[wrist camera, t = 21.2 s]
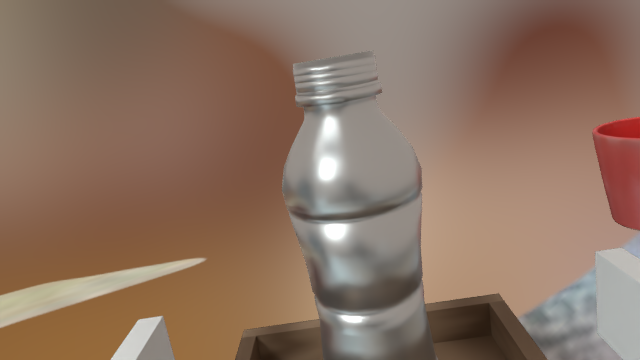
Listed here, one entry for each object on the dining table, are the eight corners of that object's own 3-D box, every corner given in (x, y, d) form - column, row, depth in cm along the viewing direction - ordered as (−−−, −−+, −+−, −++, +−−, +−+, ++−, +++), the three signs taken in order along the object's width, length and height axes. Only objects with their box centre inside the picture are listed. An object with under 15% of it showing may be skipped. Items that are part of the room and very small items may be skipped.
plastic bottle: (451, 397, 28) (411, 43, 23) (458, 503, 21) (405, 45, 17) (343, 396, 29) (284, 65, 25) (319, 494, 23) (233, 74, 18)
